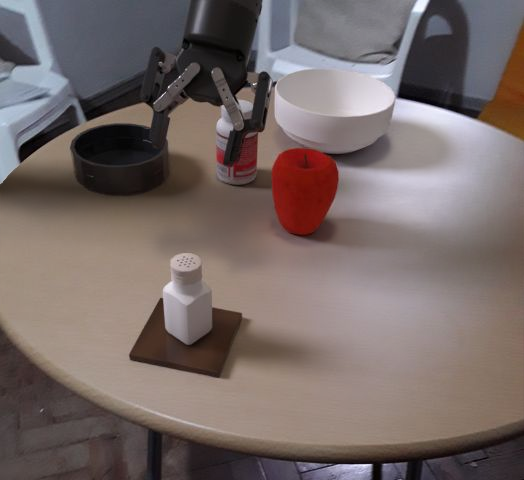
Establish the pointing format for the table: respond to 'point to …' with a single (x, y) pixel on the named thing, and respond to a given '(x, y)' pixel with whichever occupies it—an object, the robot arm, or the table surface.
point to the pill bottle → (248, 160)
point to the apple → (303, 188)
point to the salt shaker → (187, 300)
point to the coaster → (180, 354)
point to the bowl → (333, 109)
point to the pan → (118, 159)
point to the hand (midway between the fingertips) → (192, 157)
